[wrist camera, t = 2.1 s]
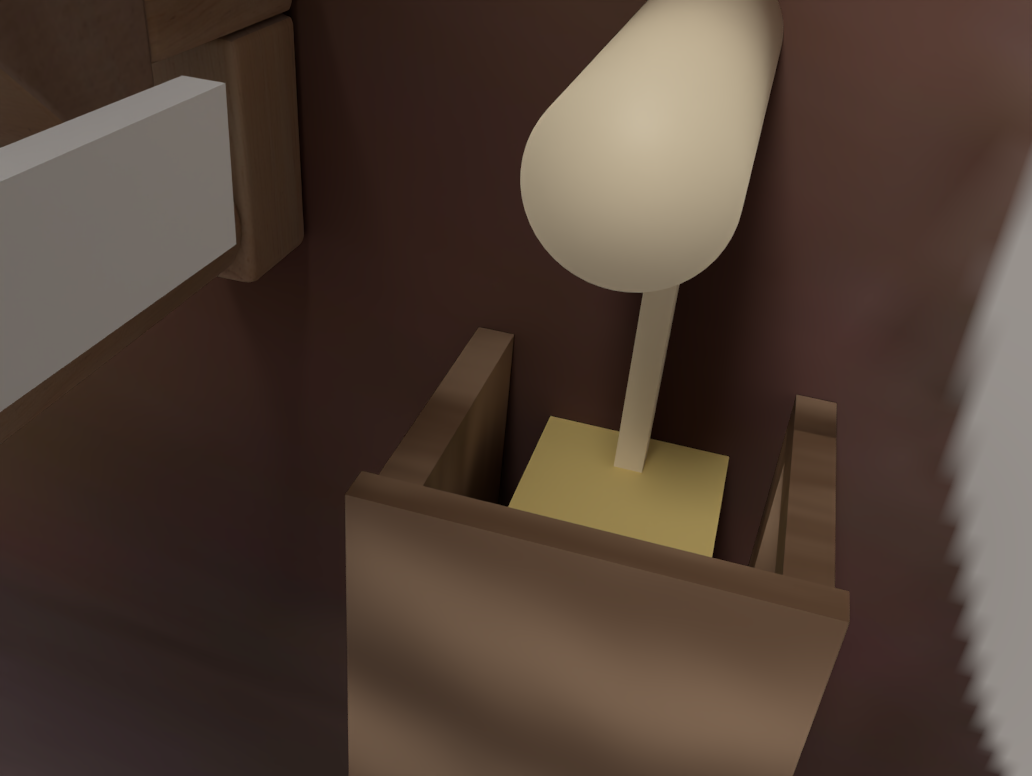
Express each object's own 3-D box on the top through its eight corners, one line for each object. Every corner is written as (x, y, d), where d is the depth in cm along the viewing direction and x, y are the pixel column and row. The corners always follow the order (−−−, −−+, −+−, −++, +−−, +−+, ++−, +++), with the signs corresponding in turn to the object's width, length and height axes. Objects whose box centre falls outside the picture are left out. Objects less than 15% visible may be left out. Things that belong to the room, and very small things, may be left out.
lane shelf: (473, 312, 32) (345, 494, 24) (847, 390, 30) (849, 622, 21) (454, 603, 39) (349, 822, 31) (755, 684, 36) (729, 944, 28)
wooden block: (292, -128, 26) (-410, -24, 12) (310, 241, 32) (-145, 626, 17) (169, -141, 27) (-638, -59, 12) (208, 223, 33) (-310, 576, 18)
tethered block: (608, -55, 25) (456, 45, 15) (848, -24, 24) (852, 107, 14) (531, 570, 37) (417, 856, 27) (690, 611, 36) (632, 926, 26)
